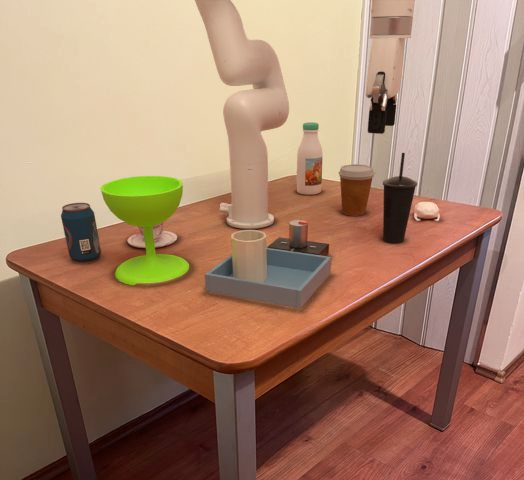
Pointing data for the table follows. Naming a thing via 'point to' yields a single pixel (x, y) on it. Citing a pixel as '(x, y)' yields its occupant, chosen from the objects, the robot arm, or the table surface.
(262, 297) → the tray
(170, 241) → the teacup
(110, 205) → the wineglass
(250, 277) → the cup
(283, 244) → the black dial panel
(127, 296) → the table surface
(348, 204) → the disposable coffee cup
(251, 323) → the table surface
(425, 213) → the frog figurine
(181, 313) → the table surface
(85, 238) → the soda can
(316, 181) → the milk bottle
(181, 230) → the table surface
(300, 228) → the control knob
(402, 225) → the drinking cup
